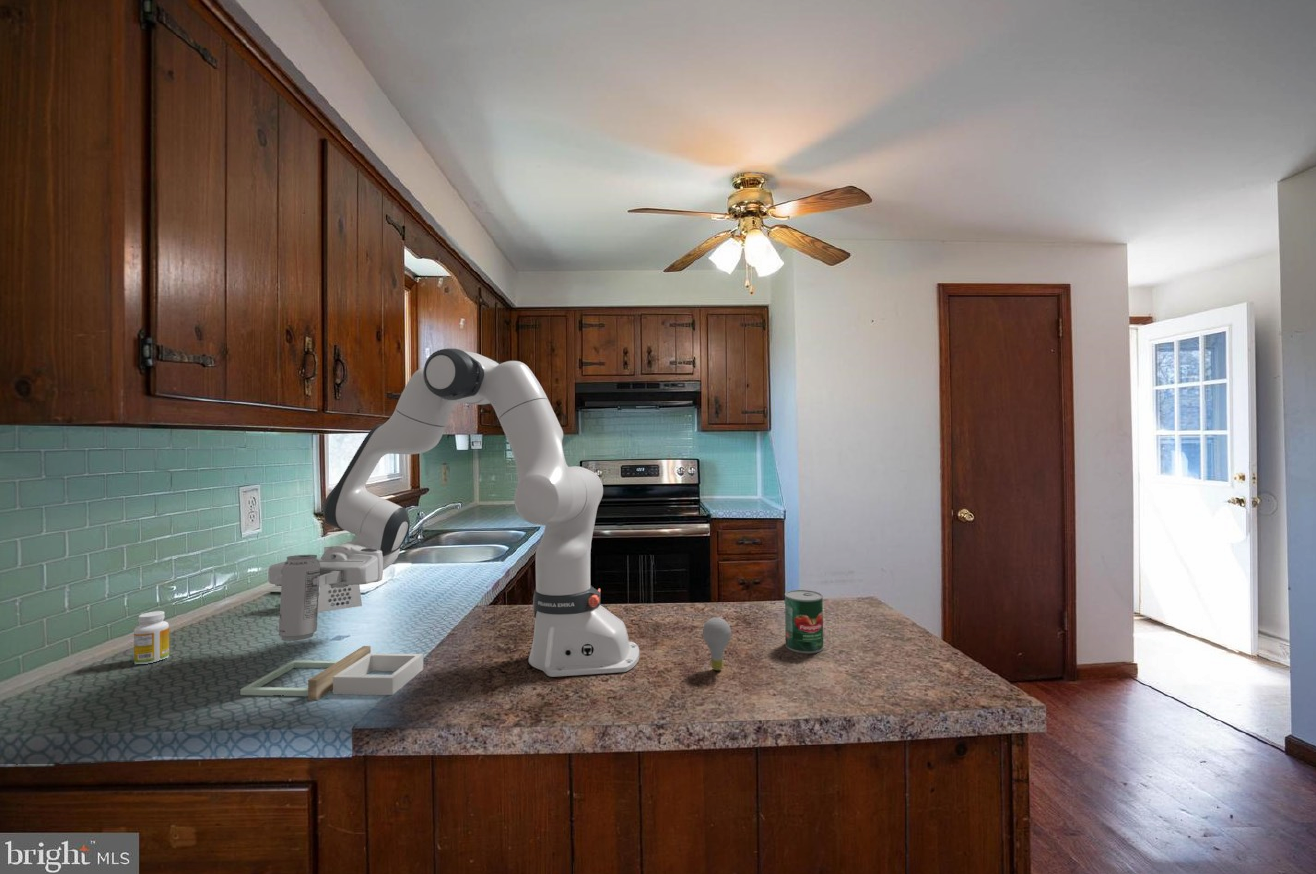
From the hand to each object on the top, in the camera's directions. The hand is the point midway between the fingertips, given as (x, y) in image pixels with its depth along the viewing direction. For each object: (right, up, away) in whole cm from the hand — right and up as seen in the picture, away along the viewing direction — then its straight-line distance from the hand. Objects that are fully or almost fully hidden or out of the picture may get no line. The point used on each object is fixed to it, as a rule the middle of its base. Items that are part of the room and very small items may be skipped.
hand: (296, 581), depth 103 cm
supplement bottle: (-38, -20, +11) cm, 44 cm away
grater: (-21, -20, +50) cm, 58 cm away
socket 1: (0, -19, +1) cm, 19 cm away
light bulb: (+79, -18, +2) cm, 81 cm away
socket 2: (+16, -18, 0) cm, 24 cm away
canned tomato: (+99, -18, +14) cm, 102 cm away
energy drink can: (0, -11, 0) cm, 11 cm away
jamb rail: (+8, -19, 0) cm, 20 cm away
